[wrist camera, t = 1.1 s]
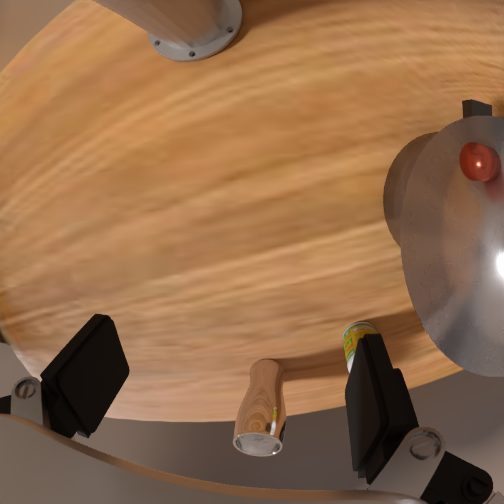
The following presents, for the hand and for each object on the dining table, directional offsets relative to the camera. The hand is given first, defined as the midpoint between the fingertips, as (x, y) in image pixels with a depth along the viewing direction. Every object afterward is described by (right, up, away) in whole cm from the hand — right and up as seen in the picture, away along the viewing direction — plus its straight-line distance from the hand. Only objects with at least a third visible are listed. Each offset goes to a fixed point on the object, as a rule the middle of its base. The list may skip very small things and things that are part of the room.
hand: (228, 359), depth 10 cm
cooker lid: (+18, +4, +6) cm, 19 cm away
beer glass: (+4, -16, +36) cm, 40 cm away
